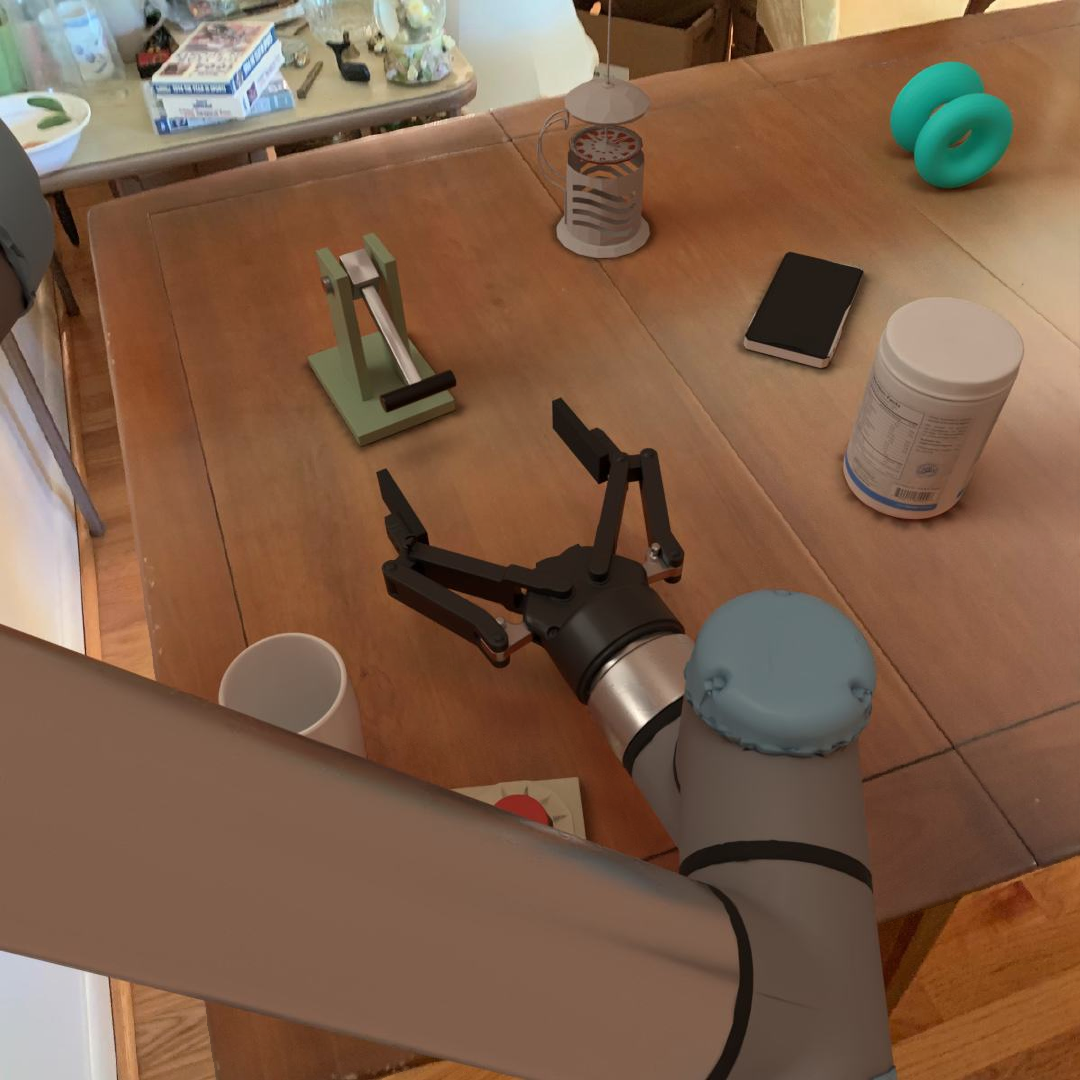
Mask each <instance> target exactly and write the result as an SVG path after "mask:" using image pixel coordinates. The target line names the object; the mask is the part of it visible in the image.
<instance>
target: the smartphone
mask: <svg viewBox="0 0 1080 1080" xmlns="http://www.w3.org/2000/svg"><path fill="white" fill-rule="evenodd" d="M864 273H865V270H864V269H863V267H858V266H854V265H851V264H850V265H849V264H845V263H841V262H837V261H833V260H828V259H824V258H820V257H815V256H811V255H807V254H801V253H798V252H794V251H788V252H786V253H785V254H784V256H783V258H782V259H781V262H780V264H779V266H778V268H777V269H776V272H775V274H774V276H773V278H772V280H771V281H770V284H769V286H768V288H767V290H766V292H765V294H764V296H763V298H762V300H761V302H760V304H759V306H758V308H757V310H756V311H755V312H754V314H753V316H752V318H751V320H750V322H749V323H748V325H747V330H746V332H745V334H744V336H743V337H744V338H743V342H742V343H743V347H745V349H746V350H751V351H754V352H757V353H762V354H766V355H769V356H774V357H776V358H781V359H785V360H788V361H791V362H795V363H796V362H797V363H801V364H804V365H808V366H811V367H816V368H819V369H822V368H825V367H828V365H829V362H830V361H832V359H833V356H834V354H835V352H836V349H837V348H838V347H837V346H838V344H839V342H840V339H841V336H842V333H843V329H844V325H845V323H846V320H847V318H848V315H849V313H850V310H851V307H852V305H853V303H854V301H855V297H856V295H857V292H858V290H859V288H860V285H861V282H862V281H863V277H864Z"/></svg>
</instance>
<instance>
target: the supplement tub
mask: <svg viewBox="0 0 1080 1080" xmlns="http://www.w3.org/2000/svg"><path fill="white" fill-rule="evenodd" d="M1024 355H1025V343H1024V340H1023V338H1022V336H1021V334H1020V331H1018V329H1017V328H1016V327H1015V325H1014V324H1013V323H1012V322H1011V321H1009V320H1008V319H1007V318H1006V317H1005V316H1004V315H1002V314H1000V313H999V312H997V311H996V310H995V309H992V308H990V307H988V306H986V305H983V304H980V303H978V302H975V301H971V300H968V299H963V298H958V297H951V296H934V297H933V296H932V297H926V298H920V299H916V300H913V301H911V302H908V303H906V304H903V305H902V306H900V307H899V308H897V310H896V311H894V312H893V313H892V314H891V316H890V317H889V319H888V320H887V323H886V326H885V329H884V331H883V332H882V334H881V336H880V338H879V343H878V346H877V348H876V352H875V355H874V358H873V361H872V363H871V364H872V365H871V368H870V371H869V375H868V378H867V381H866V385H865V388H864V391H863V393H862V397H861V401H860V404H859V408H858V411H857V414H856V417H855V421H854V422H853V423H854V424H853V427H852V431H851V434H850V437H849V441H848V443H847V447H846V450H845V453H844V457H843V463H842V465H843V466H842V467H843V468H842V469H843V475H844V477H845V481H846V483H847V485H848V487H849V489H850V490H851V491H852V493H853V494H854V495H855V496H856V498H858V500H860V501H861V502H862V503H864V504H865V505H866V506H868V507H870V508H871V509H873V510H874V511H877V512H879V513H881V514H884V515H886V516H890V517H894V518H897V519H904V520H906V519H907V520H920V519H921V520H922V519H928V518H933V517H935V516H939V515H942V514H943V513H945V512H947V511H949V510H950V509H951V508H952V507H954V505H956V504H957V502H958V501H959V500H960V498H961V497H962V496H963V494H964V492H965V490H966V488H967V486H968V484H969V482H970V479H971V477H972V475H973V472H974V470H975V468H976V467H977V464H978V462H979V460H980V458H981V456H982V453H983V451H984V450H985V447H986V446H987V443H988V440H989V439H990V436H991V434H992V432H993V430H994V428H995V426H996V423H997V421H998V419H999V417H1000V415H1001V413H1002V410H1003V408H1004V406H1005V404H1006V402H1007V400H1008V398H1009V396H1010V394H1011V391H1012V388H1013V387H1014V384H1015V382H1016V380H1017V377H1018V375H1019V372H1020V366H1021V364H1022V361H1023V360H1024Z"/></svg>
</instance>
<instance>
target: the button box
mask: <svg viewBox="0 0 1080 1080" xmlns="http://www.w3.org/2000/svg"><path fill="white" fill-rule="evenodd" d="M449 789H450V790H453V791H456V792H458V793H461V794H464V795H466V796H469V797H472V798H475V799H477V800H480V801H483V802H485V803H488V804H491V805H494V804H496V803H497V802H498V801H499V800H501V799H502V798H504V797H507V796H510V795H516V794H520V795H526V796H529V797H532V798H534V799H535V800H537V801H538V802H539V803H540V804H541V805H542V806H543V807H544V809H545V811H546V813H547V815H548V820H549V826H551V827H553V828H556V829H559V830H561V831H564V832H567V833H569V834H572V835H575V836H578V837H580V838H583V839H586V840H587V835H586V834H587V833H586V827H585V820H584V819H585V818H584V812H583V811H584V810H583V804H582V803H583V802H582V795H581V787H580V779H579V777H578V776H574V777H563V778H552V779H539V780H528V779H526V780H525V779H523V780H513V781H504V782H498V783H497V784H488V785H478V786H477V785H476V786H467V787H457V788H449Z"/></svg>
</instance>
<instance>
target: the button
mask: <svg viewBox="0 0 1080 1080" xmlns="http://www.w3.org/2000/svg"><path fill="white" fill-rule="evenodd" d="M494 806H496V807H499V808H502V809H504V810H507V811H510V812H513V813H515V814H518V815H521V816H523V817H526V818H529V819H532V820H534V821H537V822H540V823H542V824H545V825H548V826H549V820H548V815H547V813H546V811H545V809H544V807H543V806H542V805H541V804H540V803H539V802H538V801H537V800H535V799H534V798H532V797H529V796H526V795H520V794H516V795H510V796H507V797H504V798H502V799H501V800H499V801H498V802H497V803H496V804H494Z"/></svg>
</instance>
